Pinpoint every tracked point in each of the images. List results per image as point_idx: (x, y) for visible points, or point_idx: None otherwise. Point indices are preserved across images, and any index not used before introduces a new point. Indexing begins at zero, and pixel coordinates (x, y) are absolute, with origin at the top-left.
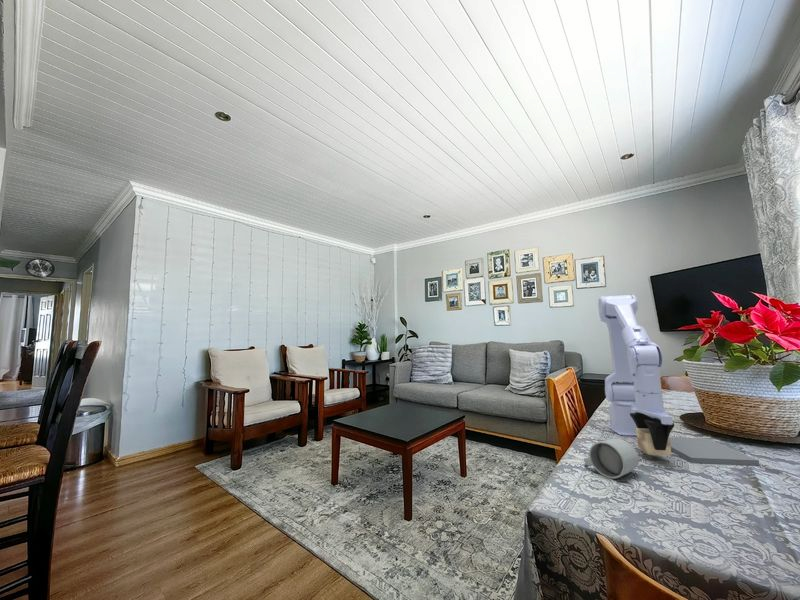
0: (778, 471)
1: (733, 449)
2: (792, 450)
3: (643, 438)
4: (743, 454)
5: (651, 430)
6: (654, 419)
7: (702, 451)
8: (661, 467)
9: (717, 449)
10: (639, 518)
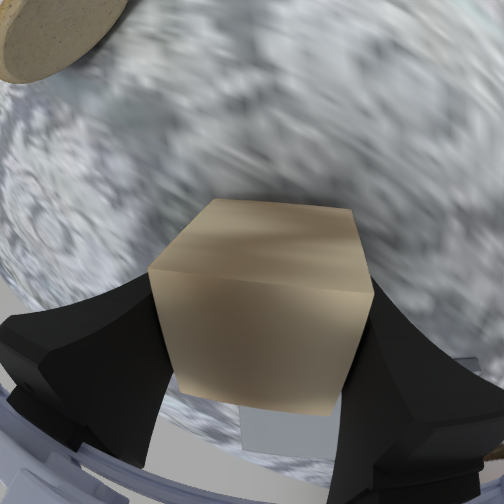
0: (215, 438)
1: (318, 458)
2: (328, 488)
3: (236, 243)
4: (280, 454)
5: (78, 307)
6: (54, 424)
7: (306, 417)
8: (163, 203)
9: (321, 443)
10: None
